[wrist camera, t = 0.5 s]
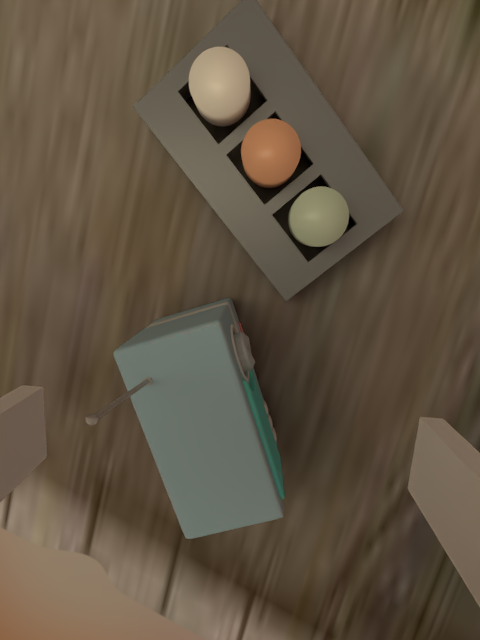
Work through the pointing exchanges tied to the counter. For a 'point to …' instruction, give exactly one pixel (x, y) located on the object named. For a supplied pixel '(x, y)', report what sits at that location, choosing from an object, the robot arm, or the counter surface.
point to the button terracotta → (270, 153)
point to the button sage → (318, 217)
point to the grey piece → (211, 158)
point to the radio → (204, 418)
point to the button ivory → (220, 86)
